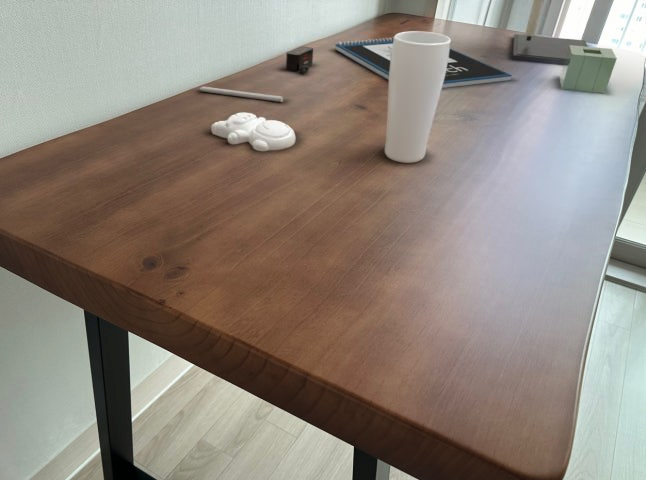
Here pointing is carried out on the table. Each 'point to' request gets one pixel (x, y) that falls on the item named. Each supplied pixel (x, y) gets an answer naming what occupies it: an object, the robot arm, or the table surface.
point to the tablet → (542, 49)
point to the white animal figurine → (255, 132)
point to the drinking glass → (414, 92)
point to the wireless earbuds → (299, 59)
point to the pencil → (242, 94)
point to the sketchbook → (457, 72)
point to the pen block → (587, 68)
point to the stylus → (533, 18)
